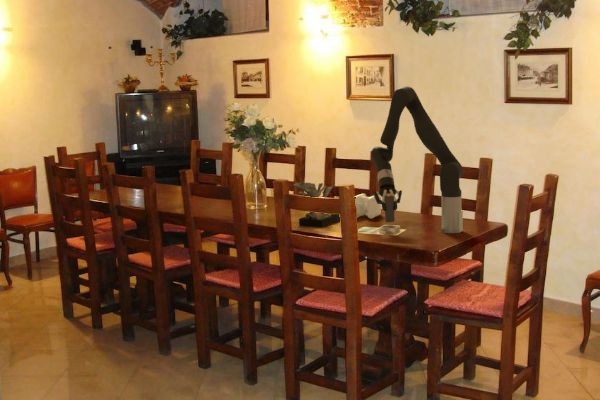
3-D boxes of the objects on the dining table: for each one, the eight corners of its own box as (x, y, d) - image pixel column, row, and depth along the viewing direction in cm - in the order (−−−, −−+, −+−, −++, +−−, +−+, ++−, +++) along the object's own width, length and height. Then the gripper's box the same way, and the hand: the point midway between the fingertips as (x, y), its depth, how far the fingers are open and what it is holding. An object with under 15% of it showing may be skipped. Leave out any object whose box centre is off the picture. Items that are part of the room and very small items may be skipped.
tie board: (406, 232, 357) (406, 224, 356) (396, 238, 345) (396, 230, 344) (363, 229, 367) (363, 222, 366) (352, 235, 354) (352, 227, 354)
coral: (318, 229, 371) (317, 186, 367) (284, 226, 382) (283, 184, 378) (343, 220, 391) (342, 179, 388) (311, 217, 402) (309, 178, 399)
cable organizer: (364, 213, 408) (363, 192, 406) (382, 214, 403) (381, 193, 401) (353, 218, 395) (352, 197, 393) (371, 220, 390) (371, 198, 388)
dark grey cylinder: (395, 220, 354) (395, 193, 351) (392, 222, 350) (391, 194, 348) (387, 220, 356) (386, 192, 353) (383, 222, 352) (383, 194, 350)
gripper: (371, 176, 357) (375, 206, 347) (401, 175, 357) (406, 204, 347) (370, 186, 363) (374, 215, 353) (400, 184, 363) (404, 213, 353)
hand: (390, 209), depth 350 cm, fingers closed on dark grey cylinder, 4 cm apart
